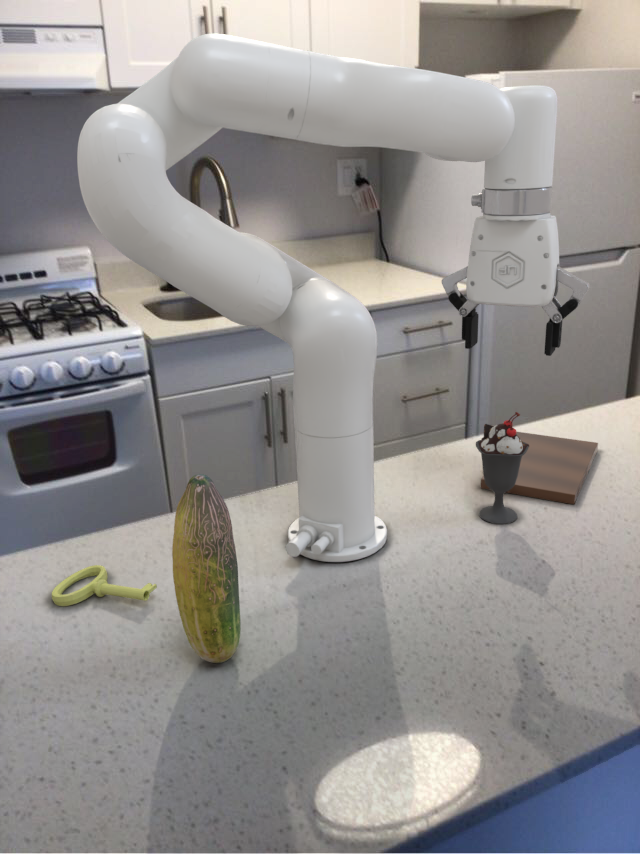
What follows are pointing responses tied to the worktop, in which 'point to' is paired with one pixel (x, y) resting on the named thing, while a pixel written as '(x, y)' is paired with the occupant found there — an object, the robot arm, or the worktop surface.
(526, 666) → the worktop surface
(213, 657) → the vegetable
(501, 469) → the sundae
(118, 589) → the key
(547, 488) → the serving board
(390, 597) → the worktop surface
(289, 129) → the robot arm
